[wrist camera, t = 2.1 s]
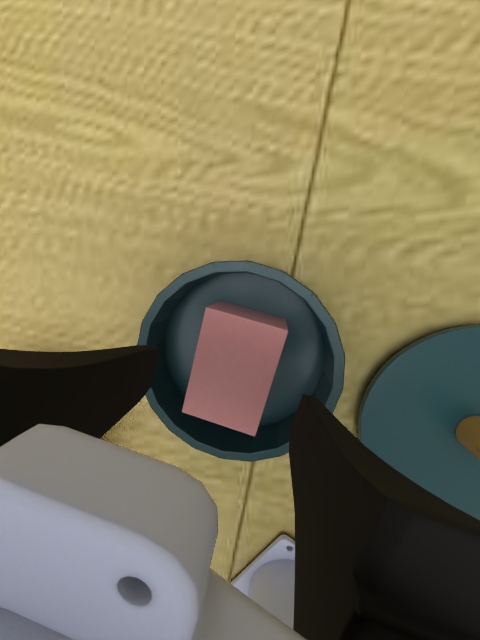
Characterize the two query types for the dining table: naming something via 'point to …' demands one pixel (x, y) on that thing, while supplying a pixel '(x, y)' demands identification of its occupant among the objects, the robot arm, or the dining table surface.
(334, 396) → the tin
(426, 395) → the lid
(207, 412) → the soap
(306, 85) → the dining table surface
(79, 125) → the dining table surface
